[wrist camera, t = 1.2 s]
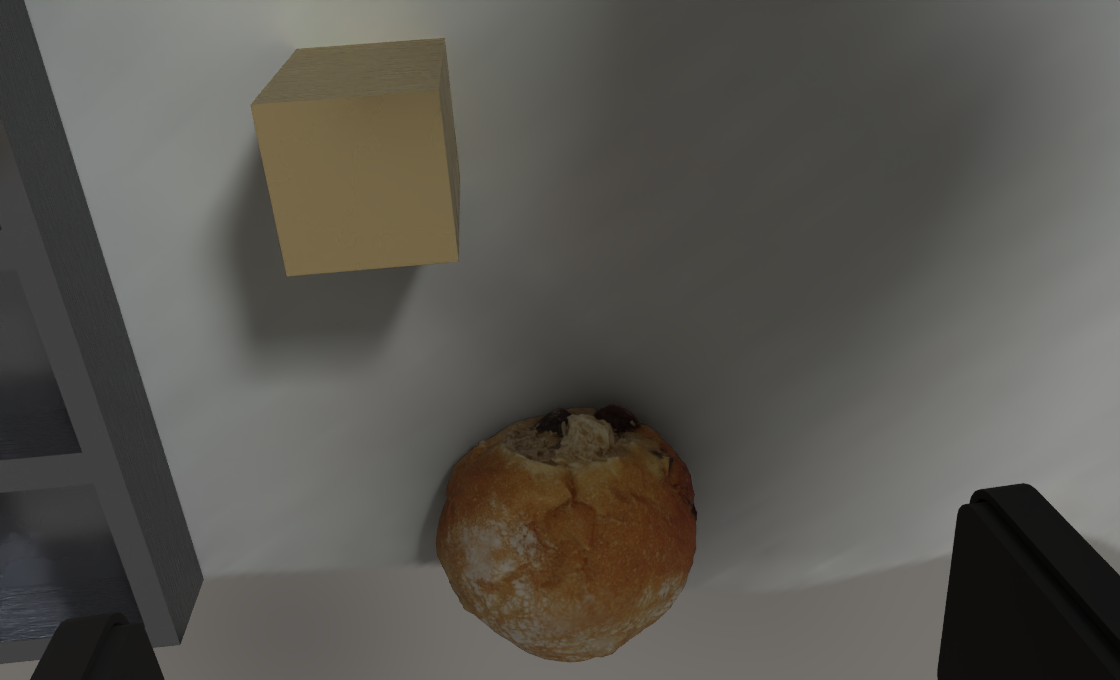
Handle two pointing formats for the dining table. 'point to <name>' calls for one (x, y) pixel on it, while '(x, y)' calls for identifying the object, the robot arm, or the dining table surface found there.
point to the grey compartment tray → (71, 400)
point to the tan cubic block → (361, 157)
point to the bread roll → (569, 531)
